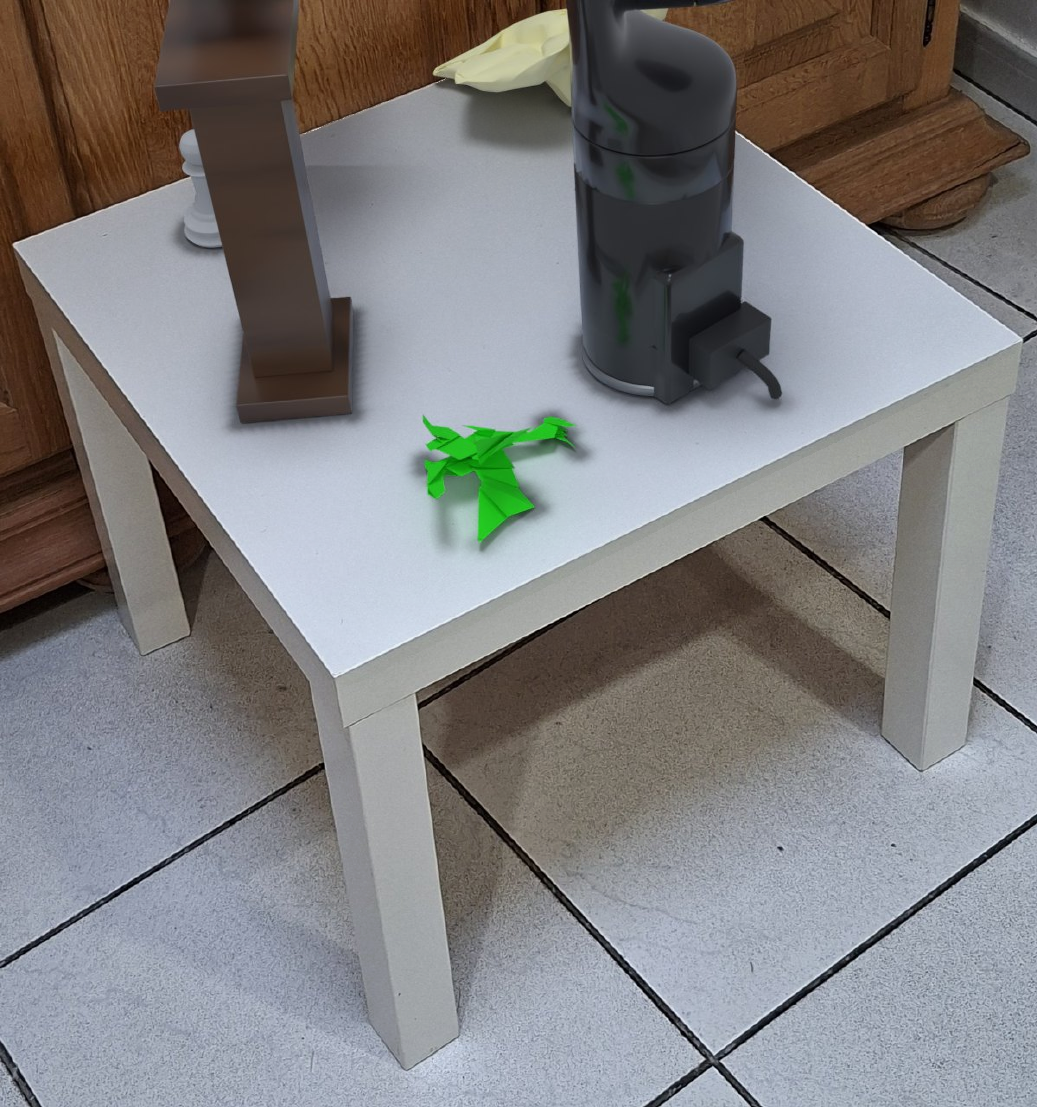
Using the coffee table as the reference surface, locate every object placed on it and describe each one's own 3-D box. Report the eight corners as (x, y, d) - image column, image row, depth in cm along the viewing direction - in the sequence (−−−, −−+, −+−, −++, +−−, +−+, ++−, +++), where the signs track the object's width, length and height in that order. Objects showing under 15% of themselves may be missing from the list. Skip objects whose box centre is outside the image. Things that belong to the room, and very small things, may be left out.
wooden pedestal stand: (249, 322, 109) (170, -8, 91) (354, 313, 108) (295, -19, 91) (240, 423, 102) (153, 86, 85) (351, 414, 102) (287, 74, 84)
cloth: (427, 57, 131) (455, 129, 134) (438, 97, 114) (470, 179, 117) (687, -50, 130) (710, 25, 132) (737, -24, 113) (763, 61, 116)
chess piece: (196, 208, 118) (171, 111, 112) (258, 211, 117) (237, 113, 112) (176, 248, 115) (150, 149, 109) (241, 250, 114) (218, 152, 108)
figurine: (435, 459, 102) (581, 464, 101) (401, 547, 92) (564, 554, 91) (431, 366, 99) (581, 370, 98) (396, 446, 89) (564, 452, 88)
